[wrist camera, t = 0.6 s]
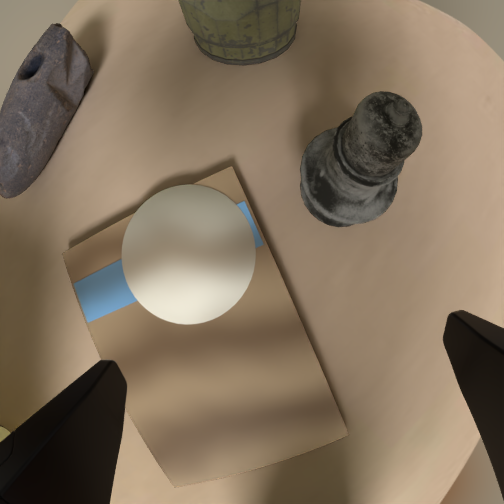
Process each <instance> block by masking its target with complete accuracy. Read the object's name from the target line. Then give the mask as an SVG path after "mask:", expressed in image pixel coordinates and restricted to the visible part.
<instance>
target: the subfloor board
mask: <svg viewBox="0 0 504 504" xmlns="http://www.w3.org/2000/svg"><path fill="white" fill-rule="evenodd" d="M62 254H63V258H64V261H65V264H66V268H67V271H68V274H69V277H70V280H71V283H72V286H73V289H74V292H75V295H76V298H77V300H78V303H79V306H80V309H81V311H82V314H83V317H84V319H85V322H86V324H87V327H88V329H89V332H90V334H91V337H92V339H93V341H94V344H95V346H96V349H97V351H98V353H99V355H100V358H101V360H114V361H115V362H116V363H117V364H118V366H119V368H120V370H121V372H122V374H123V376H124V377H125V379H126V382H127V396H126V405H125V409H126V410H127V412H128V414H129V416H130V418H131V419H132V421H133V423H134V425H135V427H136V428H137V430H138V432H139V433H140V435H141V437H142V439H143V440H144V442H145V444H146V445H147V447H148V448H149V450H150V452H151V453H152V455H153V456H154V458H155V460H156V461H157V463H158V464H159V466H160V467H161V469H162V470H163V472H164V473H165V475H166V476H167V478H168V479H169V481H170V482H171V483H172V485H173V486H174V488H175V487H181V486H186V485H192V484H197V483H202V482H207V481H212V480H216V479H220V478H225V477H229V476H233V475H237V474H241V473H244V472H248V471H251V470H255V469H258V468H262V467H265V466H268V465H272V464H275V463H278V462H281V461H284V460H287V459H290V458H293V457H296V456H298V455H301V454H304V453H307V452H309V451H312V450H315V449H317V448H320V447H322V446H325V445H327V444H330V443H332V442H334V441H337V440H339V439H341V438H344V437H346V436H348V435H349V433H348V431H347V428H346V426H345V424H344V421H343V419H342V416H341V414H340V411H339V409H338V407H337V404H336V402H335V400H334V397H333V395H332V392H331V390H330V388H329V385H328V383H327V381H326V378H325V376H324V373H323V371H322V369H321V366H320V364H319V362H318V359H317V357H316V355H315V352H314V350H313V348H312V345H311V343H310V341H309V338H308V336H307V334H306V331H305V329H304V327H303V324H302V322H301V320H300V317H299V315H298V313H297V311H296V308H295V306H294V304H293V301H292V299H291V297H290V295H289V292H288V290H287V288H286V285H285V283H284V281H283V279H282V276H281V274H280V272H279V269H278V267H277V265H276V263H275V260H274V258H273V256H272V254H271V251H270V249H269V247H268V245H267V242H266V240H265V238H264V236H263V233H262V231H261V229H260V227H259V225H258V222H257V220H256V218H255V216H254V213H253V211H252V209H251V207H250V205H249V202H248V200H247V198H246V196H245V194H244V191H243V189H242V187H241V185H240V183H239V180H238V178H237V176H236V174H235V172H234V169H233V167H232V166H231V167H229V168H226V169H224V170H222V171H220V172H217V173H215V174H213V175H211V176H209V177H207V178H204V179H202V180H200V181H198V182H196V183H194V184H192V185H179V186H174V187H170V188H167V189H165V190H162V191H160V192H158V193H157V194H155V195H153V196H152V197H151V198H149V199H148V200H147V201H145V202H144V203H143V204H142V205H141V206H140V207H139V209H138V210H137V211H136V212H135V213H134V214H132V215H130V216H128V217H126V218H124V219H122V220H120V221H119V222H117V223H115V224H113V225H111V226H109V227H108V228H106V229H104V230H102V231H100V232H99V233H97V234H95V235H93V236H91V237H90V238H88V239H86V240H84V241H83V242H81V243H79V244H77V245H76V246H74V247H72V248H71V249H69V250H67V251H66V252H64V253H62Z"/></svg>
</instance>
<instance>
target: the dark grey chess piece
mask: <svg viewBox="0 0 504 504" xmlns="http://www.w3.org/2000/svg"><path fill="white" fill-rule="evenodd" d="M421 137H422V125H421V121H420V118H419V116H418V114H417V112H416V110H415V108H414V107H413V106H412V105H411V103H409V102H408V101H407V100H406V99H405V98H403V97H401V96H399V95H397V94H394V93H391V92H382V91H380V92H375V93H372V94H370V95H368V96H367V97H365V98H364V99H363V100H362V101H361V102H360V104H359V105H358V107H357V109H356V111H355V113H354V115H353V117H350V118H348V119H347V120H345V121H343V122H342V124H341V125H340V126H339V127H337V128H334V129H330V130H326V131H324V132H323V133H321V134H319V135H318V136H316V137H315V138H314V139H313V140H312V141H311V142H310V144H309V145H308V146H307V148H306V150H305V152H304V154H303V156H302V162H301V168H300V172H301V184H300V187H301V196H302V198H303V201H304V204H305V206H306V207H307V209H308V210H309V211H310V213H311V214H312V215H313V216H314V217H316V218H317V219H318V220H319V221H321V222H323V223H325V224H327V225H331V226H336V227H347V226H351V225H354V224H359V223H365V222H368V221H371V220H374V219H376V218H377V217H379V216H380V215H382V214H383V213H384V212H386V210H387V209H388V208H389V206H390V205H391V204H392V202H393V200H394V197H395V194H396V192H397V183H398V175H399V174H400V172H401V170H402V167H403V165H404V160H405V159H406V158H407V157H408V156H410V155H411V154H412V153H413V152H414V151H415V150H416V148H417V147H418V145H419V143H420V140H421Z"/></svg>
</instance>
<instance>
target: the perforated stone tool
mask: <svg viewBox="0 0 504 504" xmlns="http://www.w3.org/2000/svg"><path fill="white" fill-rule="evenodd" d="M93 73H94V71H93V70H92V69H91V67H90V63H89V58H88V56H87V54H86V53H85V51H84V50H82V48H81V47H80V46H79V44H78V43H76V41H75V40H74V39H73V36H72V35H71V34H70V32H69V31H68V30H67V29H66V28H64V27H62V25H61V24H58V23H56V24H51V26H50V27H49V28H48V29H47V31H46V32H45V33H44V34H43V35H42V36H41V38H40V39H39V41H38V42H37V44H36V45H35V46H34V47H33V48H32V50H31V51H30V53H29V54H28V55H27V57H26V58H25V60H24V62H23V63H22V65H21V66H20V68H19V70H18V72H17V74H16V76H15V78H14V79H13V81H12V84H11V86H10V88H9V91H8V93H7V95H6V97H5V100H4V102H3V105H2V108H1V111H0V194H1V195H2V197H4V198H12V197H16V196H18V195H20V194H21V193H22V192H24V191H25V190H26V189H27V188H28V187H29V186H30V185H31V184H32V183H33V182H34V180H35V179H36V178H37V177H38V175H39V174H40V173H41V171H42V169H43V168H44V167H45V165H46V163H47V162H48V160H49V158H50V157H51V155H52V153H53V150H54V149H55V147H56V145H57V142H58V141H59V139H60V138H61V136H62V134H63V132H64V130H65V128H66V126H67V125H68V123H69V121H70V120H71V118H72V116H73V114H74V113H75V111H76V109H77V107H78V105H79V102H80V100H81V99H82V97H83V95H84V89H85V87H86V86H87V84H88V82H89V80H90V78H91V77H92V75H93Z"/></svg>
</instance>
